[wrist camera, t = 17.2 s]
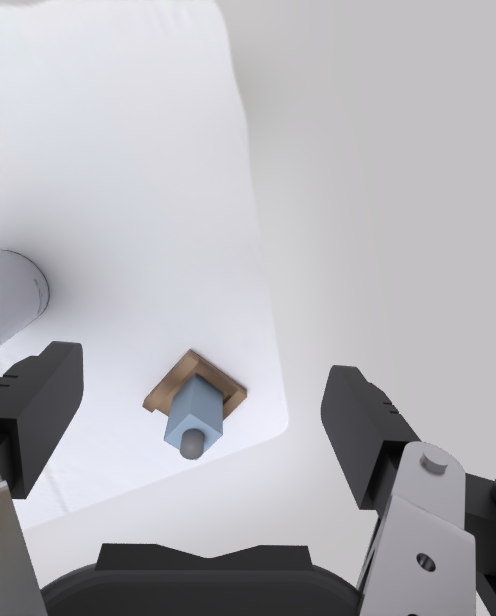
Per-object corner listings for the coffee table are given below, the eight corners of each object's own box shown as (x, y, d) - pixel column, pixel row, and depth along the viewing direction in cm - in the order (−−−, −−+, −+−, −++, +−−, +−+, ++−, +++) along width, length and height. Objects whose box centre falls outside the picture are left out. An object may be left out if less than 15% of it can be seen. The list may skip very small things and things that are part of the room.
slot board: (201, 434, 51) (200, 443, 50) (144, 398, 48) (142, 406, 47) (246, 389, 49) (247, 396, 47) (189, 349, 46) (188, 355, 45)
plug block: (200, 414, 49) (194, 473, 40) (173, 396, 48) (160, 453, 38) (222, 392, 48) (222, 447, 38) (195, 373, 47) (188, 425, 37)
